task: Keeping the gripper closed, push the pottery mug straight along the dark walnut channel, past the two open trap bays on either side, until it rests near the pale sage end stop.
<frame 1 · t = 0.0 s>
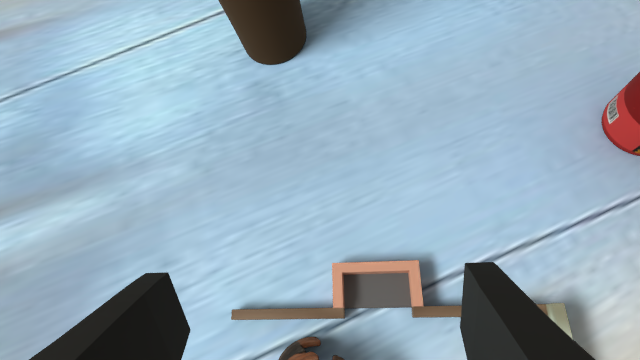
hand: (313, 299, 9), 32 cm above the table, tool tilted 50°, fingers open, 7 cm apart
olive oil: (276, 40, 55), on the table
canned food: (635, 128, 42), on the table
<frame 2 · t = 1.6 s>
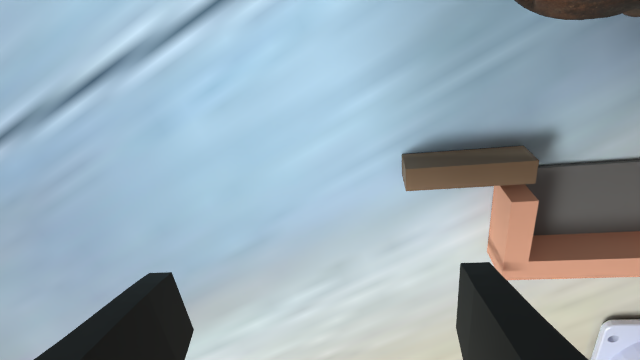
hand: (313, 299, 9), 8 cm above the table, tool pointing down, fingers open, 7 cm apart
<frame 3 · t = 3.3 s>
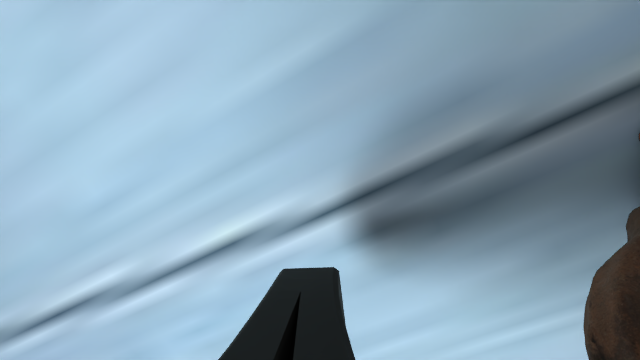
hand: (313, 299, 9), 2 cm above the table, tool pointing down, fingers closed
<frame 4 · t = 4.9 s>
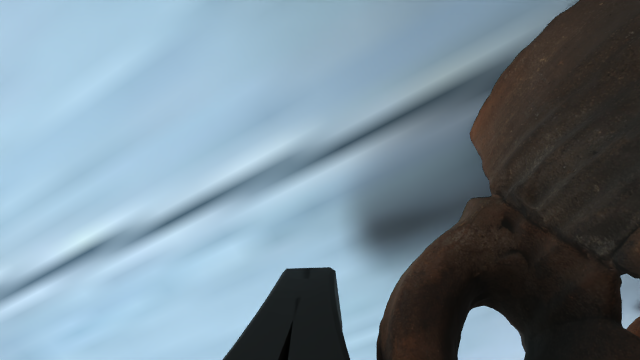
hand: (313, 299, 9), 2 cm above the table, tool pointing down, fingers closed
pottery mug: (604, 182, 9), on the table, touching gripper
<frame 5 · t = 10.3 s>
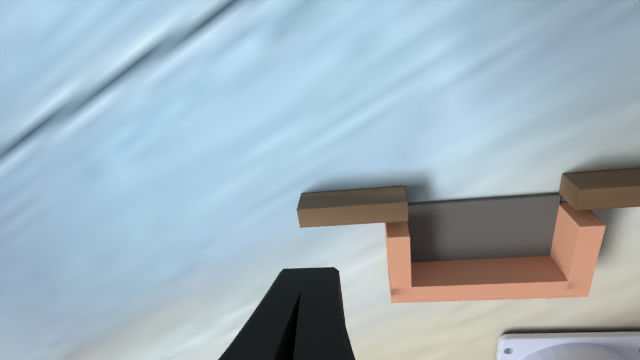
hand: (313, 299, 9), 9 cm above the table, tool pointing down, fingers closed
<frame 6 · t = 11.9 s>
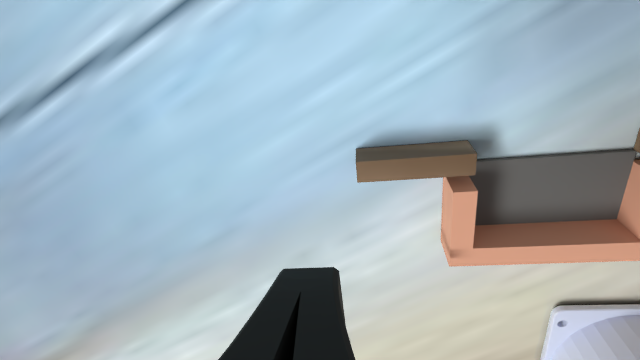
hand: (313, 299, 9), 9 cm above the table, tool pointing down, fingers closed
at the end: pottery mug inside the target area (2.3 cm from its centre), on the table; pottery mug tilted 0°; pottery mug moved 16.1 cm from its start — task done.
